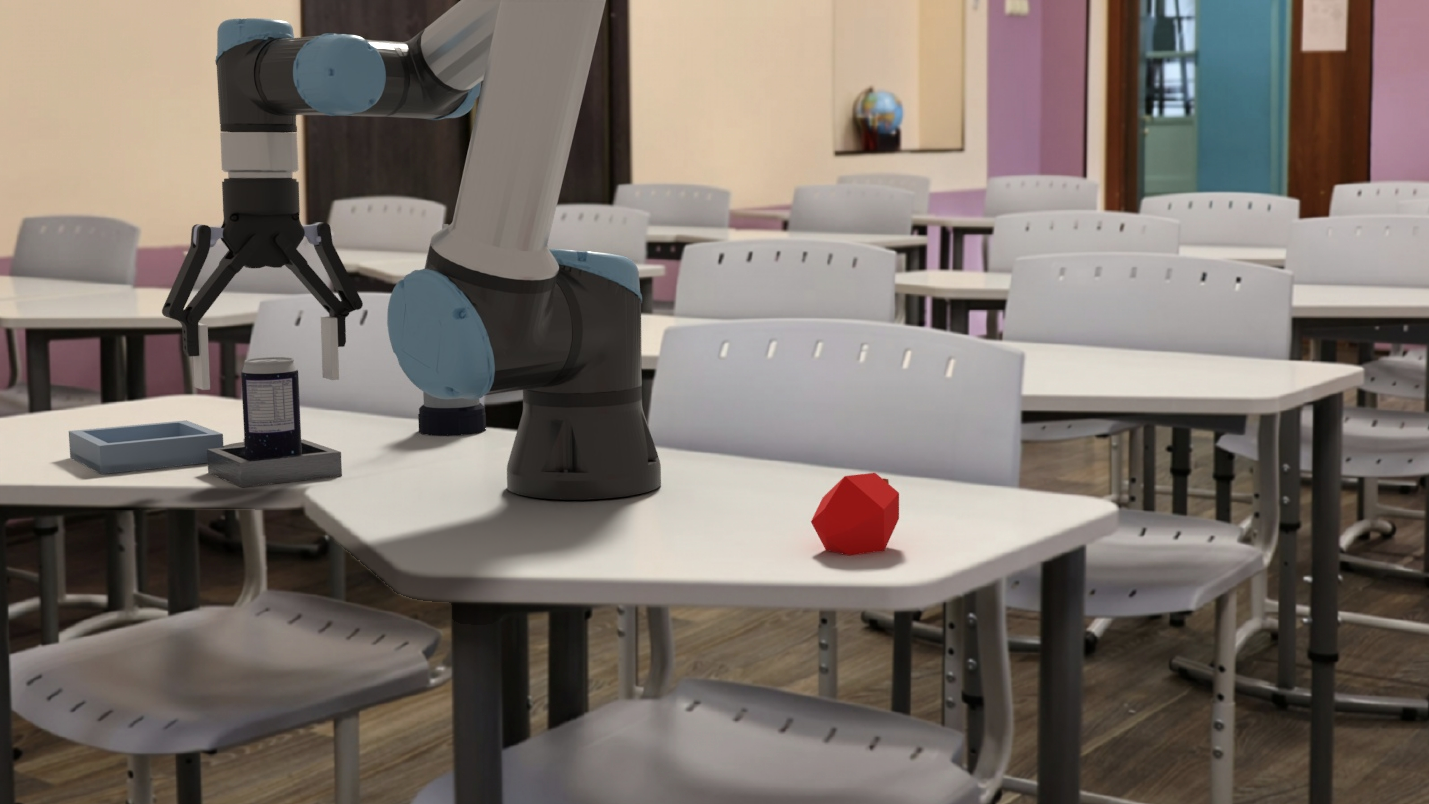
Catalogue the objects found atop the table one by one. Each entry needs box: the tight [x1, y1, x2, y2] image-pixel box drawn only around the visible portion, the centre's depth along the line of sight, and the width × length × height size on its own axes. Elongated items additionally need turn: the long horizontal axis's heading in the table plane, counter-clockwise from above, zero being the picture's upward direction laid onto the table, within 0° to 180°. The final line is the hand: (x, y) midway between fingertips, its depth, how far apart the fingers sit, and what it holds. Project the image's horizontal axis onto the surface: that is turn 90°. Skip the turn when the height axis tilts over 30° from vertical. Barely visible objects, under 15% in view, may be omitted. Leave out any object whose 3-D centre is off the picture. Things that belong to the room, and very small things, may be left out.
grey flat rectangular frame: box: [207, 438, 343, 488], centre depth 171 cm, size 17×10×3 cm, turn 35°
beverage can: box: [240, 356, 302, 460], centre depth 168 cm, size 6×6×12 cm
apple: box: [810, 472, 900, 556], centre depth 131 cm, size 7×7×8 cm
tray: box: [68, 420, 224, 475], centre depth 178 cm, size 13×13×3 cm
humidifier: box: [417, 223, 487, 437], centre depth 196 cm, size 8×8×25 cm
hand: (268, 383), depth 167 cm, fingers open, 13 cm apart
